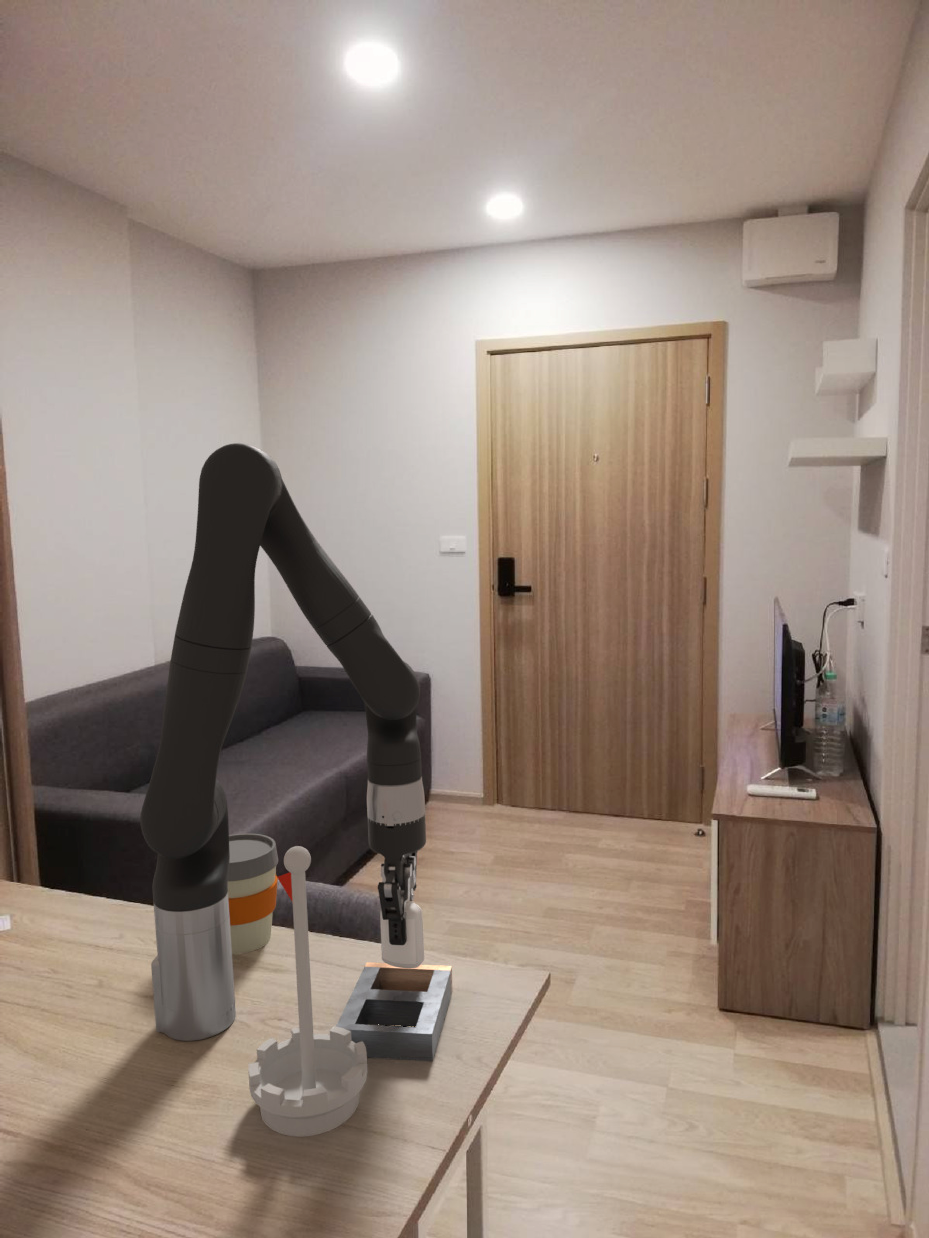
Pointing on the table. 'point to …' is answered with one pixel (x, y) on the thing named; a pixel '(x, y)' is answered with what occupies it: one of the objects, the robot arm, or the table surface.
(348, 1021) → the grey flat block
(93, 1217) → the table surface
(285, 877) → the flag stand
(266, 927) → the reusable coffee cup
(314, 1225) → the table surface
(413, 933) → the eye dropper bottle
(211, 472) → the robot arm
